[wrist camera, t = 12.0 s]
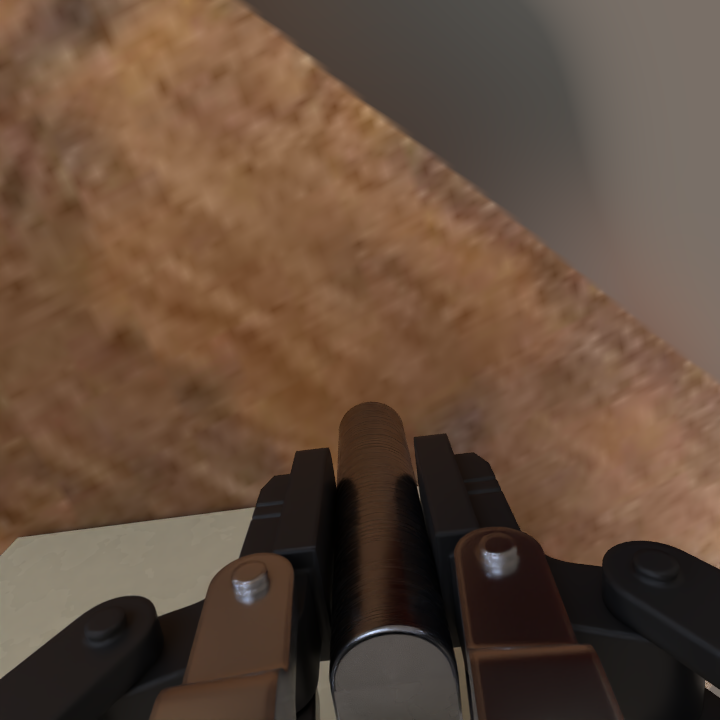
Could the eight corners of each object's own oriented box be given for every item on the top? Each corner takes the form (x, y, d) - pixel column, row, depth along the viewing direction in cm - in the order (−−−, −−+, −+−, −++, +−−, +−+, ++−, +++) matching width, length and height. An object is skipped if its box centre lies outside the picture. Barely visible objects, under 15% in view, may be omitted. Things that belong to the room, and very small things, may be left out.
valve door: (-38, 396, 21) (-1813, 1359, 4) (428, 334, 20) (835, 1092, 3) (24, 556, 23) (-892, 1602, 6) (444, 503, 22) (735, 1464, 6)
